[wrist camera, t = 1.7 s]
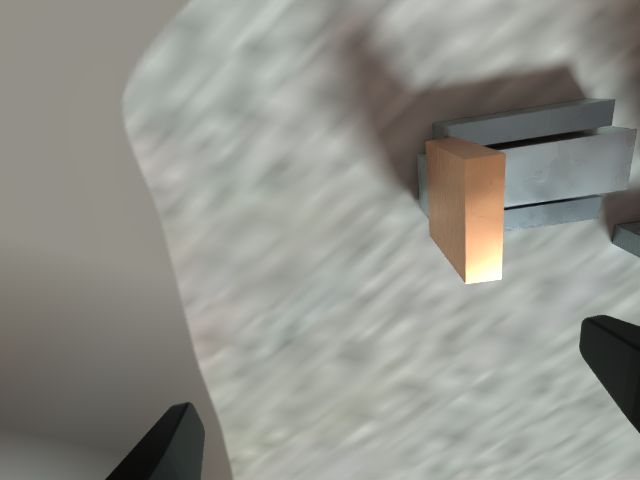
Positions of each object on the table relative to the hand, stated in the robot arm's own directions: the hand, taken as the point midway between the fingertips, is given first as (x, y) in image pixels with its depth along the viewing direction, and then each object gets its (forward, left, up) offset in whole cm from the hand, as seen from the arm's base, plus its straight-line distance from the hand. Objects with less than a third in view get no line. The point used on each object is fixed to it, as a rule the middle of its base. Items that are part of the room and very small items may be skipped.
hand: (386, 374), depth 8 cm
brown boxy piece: (-9, -1, -14) cm, 17 cm away
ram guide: (-9, -1, -14) cm, 17 cm away
